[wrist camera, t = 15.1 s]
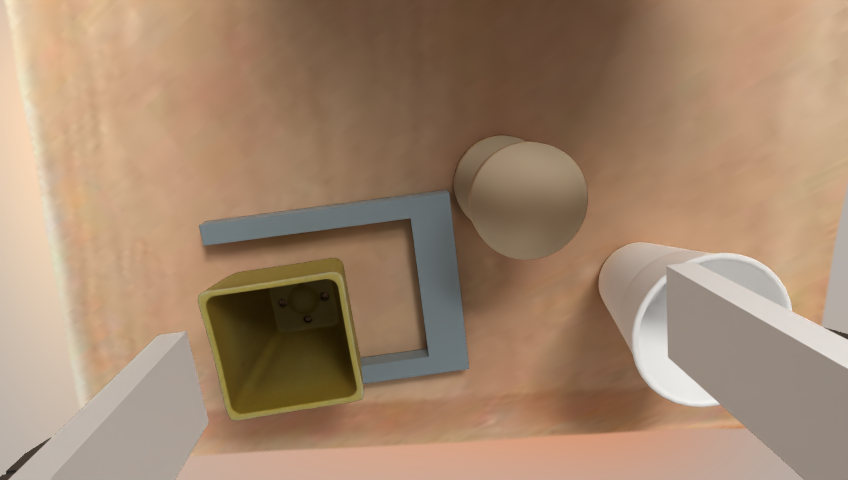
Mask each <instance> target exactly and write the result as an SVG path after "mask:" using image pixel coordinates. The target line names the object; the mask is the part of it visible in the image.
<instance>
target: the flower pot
mask: <svg viewBox="0 0 848 480" xmlns="http://www.w3.org/2000/svg"><path fill="white" fill-rule="evenodd" d="M323 293H327V294H328V299H326V300H324V299H322V298H321V295H322V294H323ZM282 299H284V300H286V301H287V304H286V305H285V306H282V305H280V303H279V302H280V300H282ZM198 303H199V307H200V311H201V315H202V318H203V321H204V325H205V328H206V331H207V335H208V339H209V342H210V345H211V349H212V352H213V356H214V360H215V364H216V368H217V373H218V377H219V382H220V386H221V390H222V394H223V399H224V404H225V408H226V411H227V413H228V415H229V417H230V419H231V420H233V421H238V420H244V419H251V418H256V417H263V416H268V415H274V414H280V413H286V412H293V411H299V410H305V409H312V408H318V407H324V406H332V405H337V404H344V403H350V402H354V401H358V400H362V398H363V396H364V386H363V377H362V369H361V360H360V352H359V348H358V343H357V338H356V333H355V328H354V323H353V318H352V312H351V306H350V301H349V295H348V289H347V283H346V277H345V271H344V266H343V263H342V261H341V260H339V259H337V258H328V259H323V260H317V261H310V262H304V263H298V264H292V265H285V266H278V267H271V268H264V269H256V270H249V271H242V272H238V273H235V274H233V275H230V276H228V277H227V278H225V279H223V280H222V281H220V282H218V283H217V284H215V285H213V286H212V287H210V288H209V289H207V290H205V291H204V292H202V293H201V294H200V295H199V296H198ZM307 315H308V316H311V318H312V320H311V321H310V322H306V321H305V320H304V317H305V316H307Z"/></svg>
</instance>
